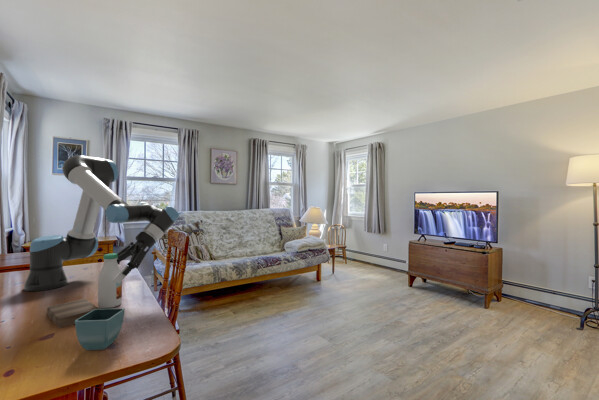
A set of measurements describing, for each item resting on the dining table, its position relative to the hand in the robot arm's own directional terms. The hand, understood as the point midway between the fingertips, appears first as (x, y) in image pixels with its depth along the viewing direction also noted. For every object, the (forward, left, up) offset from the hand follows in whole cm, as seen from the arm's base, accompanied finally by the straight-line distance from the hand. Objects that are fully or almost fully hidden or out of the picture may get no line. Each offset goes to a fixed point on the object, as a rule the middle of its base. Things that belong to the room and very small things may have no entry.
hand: (108, 278), depth 110 cm
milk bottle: (0, +1, -11) cm, 11 cm away
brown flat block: (+2, -11, -11) cm, 16 cm away
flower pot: (+33, -12, -11) cm, 36 cm away
